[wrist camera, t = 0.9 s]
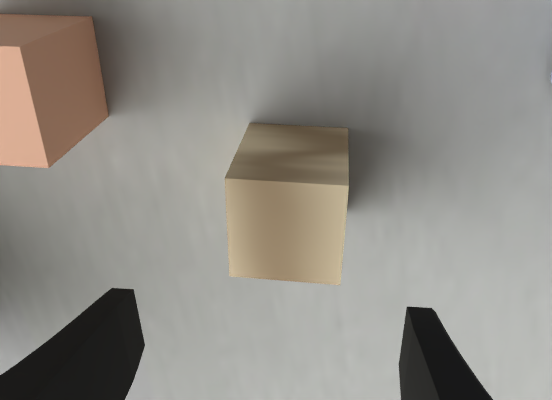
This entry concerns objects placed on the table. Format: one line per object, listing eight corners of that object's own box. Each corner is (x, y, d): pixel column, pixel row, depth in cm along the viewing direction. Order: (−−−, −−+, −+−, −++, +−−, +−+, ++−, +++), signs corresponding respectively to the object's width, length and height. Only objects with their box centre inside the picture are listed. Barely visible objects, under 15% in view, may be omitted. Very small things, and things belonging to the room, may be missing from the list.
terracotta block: (92, 16, 19) (19, 46, 15) (109, 115, 21) (48, 167, 17) (-6, 13, 20) (-105, 42, 15) (19, 111, 22) (-62, 161, 17)
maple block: (347, 127, 20) (348, 185, 16) (341, 212, 22) (340, 284, 18) (249, 122, 21) (224, 178, 16) (251, 206, 23) (229, 276, 18)
